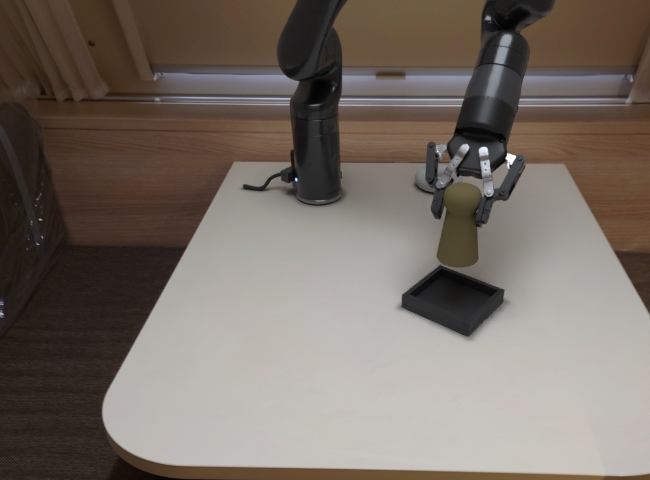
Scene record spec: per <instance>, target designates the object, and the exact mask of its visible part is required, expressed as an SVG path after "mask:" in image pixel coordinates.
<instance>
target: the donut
mask: <svg viewBox="0 0 650 480" xmlns="http://www.w3.org/2000/svg"><path fill="white" fill-rule="evenodd" d="M447 166H448V164H441V163H440V164H439V163H438V176H437V178H438V179H440V177H441V176H442V175H443V173H444V171H445V168H446V167H447ZM425 172H426V165H424V166H422V167H421V168H419V169H418V170H417V172H416V173H415V176H414V179H415V184H416V185H417V186H418V187H419V188H420V189H421V190H423V191H424V192H425V191H426V192H429V193H435V189H433V188H430V187H429V185H428V184H427V182H426V180H425ZM456 183H463V176H461V177H460V178H459V179H458V181H457V182H456ZM454 184H455V183H454Z"/></svg>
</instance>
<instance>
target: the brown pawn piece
mask: <svg viewBox="0 0 650 480" xmlns="http://www.w3.org/2000/svg"><path fill="white" fill-rule="evenodd" d="M482 195H483V194H482V191H481V189H480V188H479V187H478V186H477V185H475V184H472V183H470V182H462V183H455V184H452V185H450V186H448V187H447V189H446V190H445V192H444V195H443V202H444V208H445V215H444V218H443V223H442V227H441V232H440V237H439V242H438V246H437V250H436V259H437V261H438V262H439V263H441V265H443V266H445V267H448V268H449V267H450V268H453V269H454V268H456V269H464V268H469V267H472V266H474V265H475V264H477V263H478V261H479V259H480V258H479V257H480V256H479V234H478V233H479V232H478V227H476V226H475V218H476V215H477V211H478V207H479V204H480V200H481V197H483V196H482Z"/></svg>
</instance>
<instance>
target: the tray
mask: <svg viewBox="0 0 650 480" xmlns="http://www.w3.org/2000/svg"><path fill="white" fill-rule="evenodd" d="M505 293H506V289H504V288H502V287H498V286H496V285H495V284H494V285H493V284H491V283H489V282H487V281H483V280H481V279H478V278H475V277H473V276H470V275H467V274H465V273H462V272H460V271H457V270H454V269H452V268H449V267H448V266H445V265H443V264H439V265H438V266H436V267H435V268H434V269H433V270H431V271H430V272H429V273H428V274H426V275H425V276H424V277H423V278H421V279H420V280H419V281H417V282H416V283H415V284H414V285H412V286H411V287H410V288H408V289H407V290H406V291H405V292H403V293H402V294H401V308H403V309H405V310H408V311H410V312H412V313H414V314H417V315H419V316H421V317H423V318H426V319H428V320H430V321H433V322H435V323H437V324H439V325H442V326H444V327H446V328H448V329H450V330H452V331H455V332H457V333H459V334H461V335H464V336H466V337H469V336H470V335H472V334H473V332H475V330H476V329H477V328H478V327H480V326H481V324H483V323H484V321H485V320H486V319H487V318H489V316H491V315H492V314H493V312H495V311H496V309H498V307H499V306H501V305H502V304H503V302H504V299H505Z"/></svg>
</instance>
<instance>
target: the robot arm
mask: <svg viewBox="0 0 650 480" xmlns="http://www.w3.org/2000/svg"><path fill="white" fill-rule="evenodd" d="M348 1H349V0H296V2H295V3H294V6H293V8H292V10H291V11H290V14H289V15H288V18H287V19H286V22H285V24H284V26H283V27H282V30H281V32H280V35H279V37H278V40H277V43H276V60H277V63H278V66H279V68H280V70H281V72H282V73H283V75H284V76H285V77H287V78H288V79H290V80H292V81H296V82H298V84H297V87H296V89H295V91H294V92H293V93H292V95H291V96H290V98H289V115H290V126H291V138H292V147H293V148H292V149H290V151H289V156H290V164H291V165H290V166H288V167H286V168H283V169H282V170H280V171H279V172H276V173H274V174H272V175H270V176H269V177H268V178H267V179H266V180H265V182H264V183H263V185H261V186H259V185H258V186H255V185H251V184H247V183H243V184H242V188H243V189H249V190H252V191H262V190H266V188H267V187H268V186H269V185H270V183H271V182H272V181H273V180H275V179H276V178H279V177H280V181H281V182H284V183H286V184H290V183H292V189H293V195H295V196H296V198H297V200H299V201H300V202H302V203H304V204H309V205H326V204H331V203H334V202H336V201H338V200H339V199H341V197H342V196H343V189H342V179H343V171H342V165H341V164H342V163H341V140H340V139H341V138H340V136H341V135H340V114H339V111H340V110H339V104H340V102H341V98H342V93H343V48H342V41H341V38H340V36H339V33H338V31H337V30H336V28H335V26H334V24H335V21H336V19H337V18H338V16H339V14H340V13H341V11H342V9H343V8H344V6H345V5H346V4H347V3H348ZM555 3H556V0H485V1H484V4H483V6H482V9H481V15H480V49H479V50H478V51H479V52H478V54H477V58H476V60H475V61H476V62H475V66H474V69H473V71H472V75H471V77H470V79H469V81H468V84H467V87H466V90H465V93H464V96H463V100H462V104H461V106H460V110H459V114H458V117H457V121H456V124H455V127H454V131H453V135H452V137H451V138H450V139H449V140H448V141H447V143H443V144H442V143H441V144H436V142H435V141H429V142H428V143H427V146H426V160H425V166H426V172H425V180H426V182H427V184H428V185H429V187H430V188H433V189H435V193H434V192H433V193H434V194H433V197H432V201H431V204H430V213H432V217H433V218H434V219H435V220H439V221H441V219H442V217H443V214H444V209H445V206H444V202H443V195H444V192H445V190H446V189H447V187H448V186H450V185H452V184H454V183H456V182H457V181H458V179H459V178H460V177H461V176H462V177H464V178H467V177H469V178H470V177H473V178H474V179H477V180H482V186H483V193H484V195H483V196H482V197H481V200H480V204H479V207H478V210H477V215H476V218H475V226H476V227H477V228H479V229H482V227H483V225H487V224H488V222H489V219H490V216H491V212H492V208H493V205H494V203H496V202H498V201H502V202H507V201H508V200H509V199H510V197H511V195H512V193H513V192H514V190H515V188H516V186H517V184H518V182H519V180H520V179H521V177H522V174H523V173H524V171H525V169H526V158H525V156H524V155H523V154H518V155H514V154H512V153H509V152H508V148H507V147H508V144H509V141H510V136H511V132H512V130H513V126H514V123H515V118H516V116H517V114H518V111H519V107H520V106H519V105H520V100H521V96H522V86H523V82H524V79H525V75H526V72H527V68H528V64H529V61H530V55H531V46H530V43H529V40H527V38H526V37H525V36H524V35H522V34H521V32H522V31H523V30H525V29H526V28H528V27H530V26H532V25H534V24H535V23H538V21H540V20H542V19H544V18H545V17H547V16H548V15H549V14H550V13H551V12H552V10H553V9H554V6H555ZM446 154H448V157H449V158H450V159H449V160H450V162H449V163H448V164H447V167H446V168H445V171H444V173H443V175H442V176H441V177H440V179H438V178H437V176H438V164H439V162H440V161H442V160H443V159H444V156H445V155H446ZM505 163H506V169H507V173H506V175H505V177H504V179H503V181H502V183H501V184H500V187H497V188H495V184H494V176H493V173H494V172H495V171H497V170H498V169H499V168H500V167H501V166H502V165H503V164H505Z"/></svg>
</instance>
